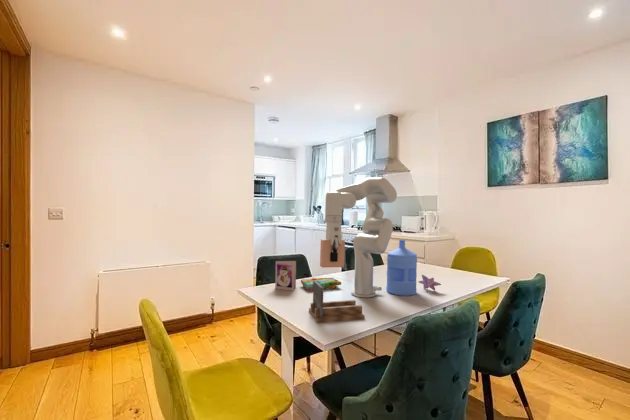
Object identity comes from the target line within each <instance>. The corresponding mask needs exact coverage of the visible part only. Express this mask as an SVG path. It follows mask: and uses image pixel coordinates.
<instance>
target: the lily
mask: <svg viewBox="0 0 630 420" xmlns="http://www.w3.org/2000/svg"><path fill="white" fill-rule="evenodd" d="M421 277H422V280H418V281H417V283H419V284H422V285H423V286H422V287H423V288H422V289H424V290H426V293H428V291H429V288H430V289H431V290H433V291H435V292H436V287H437V286H441V285H442V284H441V282H438V281H435V278H434V277H431V278H429V277H427V276H426V275H425V274H421Z"/></svg>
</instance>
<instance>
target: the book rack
mask: <svg viewBox="0 0 630 420" xmlns="http://www.w3.org/2000/svg"><path fill="white" fill-rule="evenodd" d="M356 302H357V301H356V300H355V299H347V300H335V301H334V300H333V301H324V289H323V287H322V286H321V285H320V284H319V283H318V282H317V281H313V290H312V302H310V307H308V312H309V313H310V315H311V316H312V318H313V319H314V320H315V322H316V323H317V324H321V323H335V322H344V321H345V322H346V321H347V322H348V321H357V320H365V319H366V318H365V316H366V315H365V314H363V305H361V304H357V303H356Z"/></svg>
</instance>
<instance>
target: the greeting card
mask: <svg viewBox="0 0 630 420" xmlns="http://www.w3.org/2000/svg"><path fill="white" fill-rule="evenodd" d="M274 273H275V280H274V282H275V285H274V286H275V289H278V290H283V291H284V290H285V291H292V292H294V291H295V289H297V288H296V287H297V260H282V261H281V260H275V272H274Z"/></svg>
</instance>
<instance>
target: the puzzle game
mask: <svg viewBox="0 0 630 420" xmlns="http://www.w3.org/2000/svg"><path fill="white" fill-rule="evenodd" d="M313 281H317V282H318V283H319V284H320V285H321V286H322V287H323V290H331V289H335V288H336V286H341V285H342V281H340V280H338V279H336V278H334V277H320V278H315V277H312V278H303V279H302V278H301V279H300V284H301V285H302V287H303V288H305V290H307V291H308V292H310V291H313Z"/></svg>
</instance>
